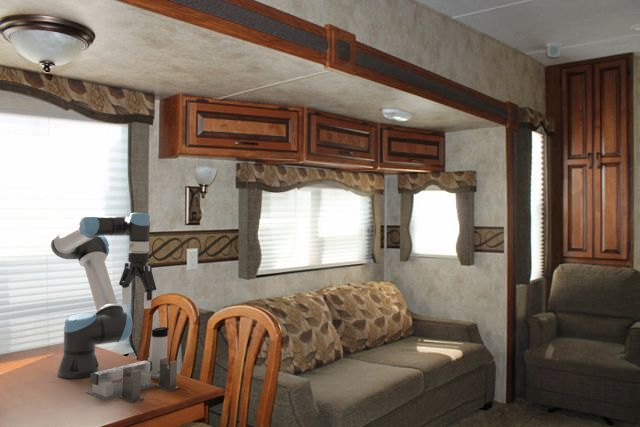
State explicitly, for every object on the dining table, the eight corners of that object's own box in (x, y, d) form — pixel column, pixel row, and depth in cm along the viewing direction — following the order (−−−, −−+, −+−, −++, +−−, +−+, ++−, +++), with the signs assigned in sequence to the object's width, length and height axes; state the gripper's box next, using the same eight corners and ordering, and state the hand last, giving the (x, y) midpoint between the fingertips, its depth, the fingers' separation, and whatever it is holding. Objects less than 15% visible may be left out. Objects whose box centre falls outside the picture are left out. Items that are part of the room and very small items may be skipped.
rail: (90, 382, 195) (90, 372, 195) (146, 369, 214) (146, 359, 214) (96, 385, 193) (96, 374, 193) (151, 370, 212) (152, 361, 212)
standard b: (155, 387, 208) (156, 359, 207) (165, 384, 212) (167, 356, 212) (169, 391, 203) (170, 363, 203) (179, 388, 207) (180, 360, 207)
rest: (85, 392, 198) (85, 379, 198) (137, 378, 216) (137, 367, 216) (104, 400, 191) (105, 387, 191) (156, 385, 209) (157, 373, 209)
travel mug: (162, 380, 216) (164, 329, 216) (146, 378, 217) (148, 328, 217) (169, 375, 222) (171, 326, 222) (154, 374, 223) (156, 325, 223)
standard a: (117, 397, 194) (119, 368, 194) (130, 394, 199) (131, 365, 198) (131, 403, 190) (133, 372, 190) (144, 399, 194) (145, 369, 194)
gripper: (111, 250, 220) (109, 302, 220) (150, 255, 206) (148, 311, 206) (127, 249, 226) (125, 300, 226) (167, 254, 212) (164, 309, 212)
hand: (136, 306), depth 216 cm, fingers open, 13 cm apart
